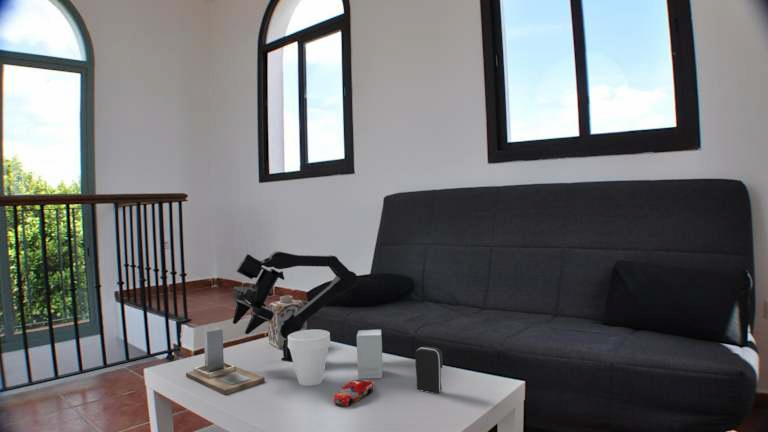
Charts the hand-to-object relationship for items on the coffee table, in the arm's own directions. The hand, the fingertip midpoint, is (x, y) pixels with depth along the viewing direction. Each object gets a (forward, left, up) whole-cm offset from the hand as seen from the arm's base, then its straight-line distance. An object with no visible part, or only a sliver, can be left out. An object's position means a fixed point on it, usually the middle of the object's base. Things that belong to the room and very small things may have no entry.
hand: (239, 328), depth 151 cm
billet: (+2, +10, -11) cm, 15 cm away
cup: (-30, +5, -12) cm, 33 cm away
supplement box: (-44, -6, -12) cm, 46 cm away
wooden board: (-4, +11, -12) cm, 17 cm away
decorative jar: (+2, -27, -12) cm, 30 cm away
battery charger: (-65, 0, -12) cm, 66 cm away
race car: (-48, +11, -13) cm, 51 cm away
